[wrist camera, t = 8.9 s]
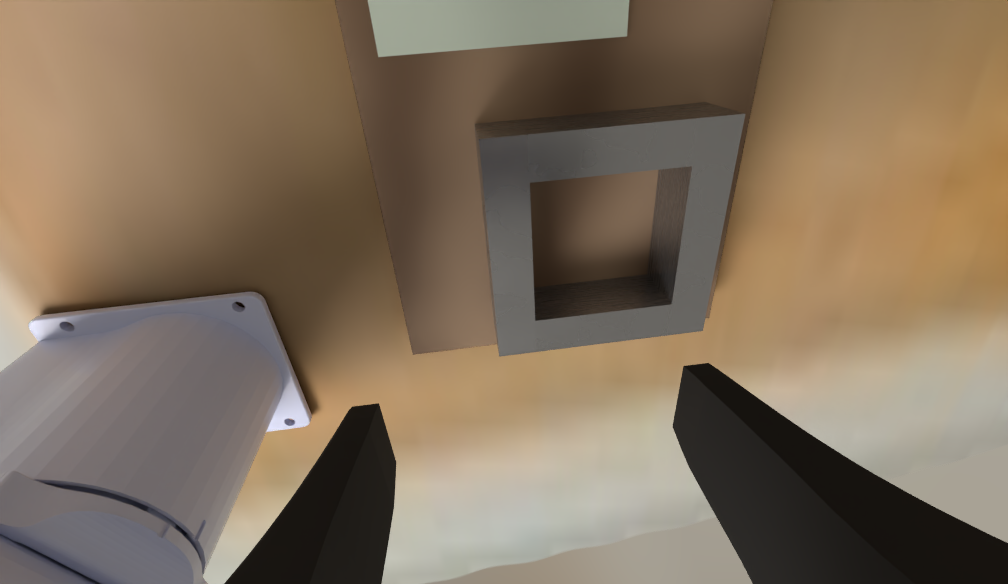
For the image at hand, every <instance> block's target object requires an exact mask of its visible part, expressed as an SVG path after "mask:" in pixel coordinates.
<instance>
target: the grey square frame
mask: <svg viewBox="0 0 1008 584" xmlns="http://www.w3.org/2000/svg"><path fill="white" fill-rule="evenodd" d="M744 119H745V113H741V112H738V111H735V110H731V109H728V108H724V107H721V106H717V105H714V104H710V103H707V102H702V103H692V104H681V105H670V106H659V107H649V108H638V109H627V110H617V111H606V112H595V113H585V114H574V115H563V116H553V117H542V118H531V119H521V120H510V121H499V122H489V123H478V124H474V127H475V137H476V147H477V157H478V167H479V178H480V188H481V198H482V208H483V218H484V229H485V239H486V249H487V259H488V270H489V280H490V290H491V300H492V310H493V321H494V327H495V333H496V339H497V345H498V351H499V356H507V355H514V354H522V353H530V352H538V351H546V350H554V349H562V348H570V347H578V346H586V345H594V344H602V343H610V342H618V341H626V340H634V339H642V338H650V337H658V336H665V335H673V334H681V333H689V332H697V331H703V327H704V322H705V317H706V311H707V306H708V301H709V296H710V291H711V286H712V281H713V276H714V271H715V266H716V261H717V256H718V251H719V246H720V240H721V235H722V230H723V225H724V220H725V215H726V210H727V205H728V200H729V195H730V190H731V185H732V180H733V174H734V169H735V164H736V159H737V154H738V149H739V144H740V139H741V134H742V129H743V124H744ZM650 170H658V180H657V189H656V198H655V207H654V216H653V225H652V234H651V244H650V253H649V262H648V271H647V274H644V275H635V276H627V277H618V278H610V279H601V280H593V281H584V282H576V283H567V284H559V285H550V286H541V287H534V276H533V251H532V226H531V201H530V183H533V182H543V181H553V180H563V179H572V178H582V177H592V176H602V175H611V174H621V173H631V172H641V171H650Z"/></svg>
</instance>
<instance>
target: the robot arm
mask: <svg viewBox="0 0 1008 584" xmlns="http://www.w3.org/2000/svg"><path fill="white" fill-rule="evenodd" d="M236 302H241V303H242V304H244V306H245V307H240V306H238V305H237V304H236ZM68 322H69V323H71V324H72V325H73V326H72V325H70V324H69V323H68ZM28 327H29V329H30V331H31V332H32V334H33V335H34V336H35V338H36V339H37V340H38V343H37V344H36V345H35V346H33V347H32V348H31V349H29V350H28V351H27V352H26V353H24V354H23V355H22V356H20V357H19V358H18V359H17V360H15V361H14V362H13V363H11V364H10V365H9V366H7V367H6V368H5V369H4V370H2V371H1V372H0V584H208V583H207V582H206V581H205V580H204V578H203V574H204V572H205V569H206V567H207V565H208V563H209V560H210V558H211V556H212V554H213V551H214V549H215V547H216V544H217V542H218V540H219V538H220V535H221V533H222V531H223V529H224V526H225V524H226V522H227V520H228V517H229V515H230V513H231V511H232V508H233V506H234V504H235V501H236V499H237V497H238V495H239V492H240V490H241V488H242V486H243V483H244V481H245V479H246V477H247V474H248V472H249V470H250V468H251V465H252V463H253V461H254V458H255V456H256V454H257V452H258V449H259V447H260V445H261V443H262V440H263V438H264V436H265V434H266V432H268V431H276V430H283V429H291V428H299V427H304V426H307V425H308V424H309V423H310V421H311V418H312V414H311V412H310V409H309V407H308V405H307V402H306V400H305V397H304V395H303V392H302V390H301V387H300V385H299V382H298V380H297V377H296V375H295V372H294V370H293V368H292V365H291V363H290V360H289V358H288V355H287V353H286V350H285V348H284V345H283V343H282V340H281V338H280V335H279V333H278V331H277V328H276V326H275V323H274V321H273V318H272V316H271V313H270V311H269V308H268V306H267V303H266V301H265V299H264V298H263V296H261V295H260V294H259V293H256V292H241V293H232V294H224V295H215V296H206V297H197V298H188V299H179V300H171V301H162V302H153V303H144V304H135V305H126V306H118V307H109V308H100V309H91V310H82V311H73V312H64V313H56V314H47V315H40V316H37V317H35V318H34V319H33V320H31V321H30V322H29V325H28ZM288 418H291V419H293V420H290V419H288ZM673 429H674V431H675V434H676V436H677V439H678V441H679V444H680V446H681V449H682V451H683V454H684V456H685V458H686V461H687V463H688V465H689V468H690V469H691V471H692V473H693V475H694V477H695V479H696V481H697V482H698V484H699V486H700V488H701V490H702V491H703V493H704V495H705V497H706V499H707V500H708V502H709V504H710V506H711V508H712V509H713V511H714V513H715V515H716V517H717V518H718V520H719V522H720V524H721V525H722V527H723V529H724V531H725V532H726V534H727V536H728V538H729V540H730V541H731V543H732V545H733V547H734V549H735V550H736V552H737V554H738V556H739V558H740V559H741V561H742V563H743V565H744V567H745V569H746V571H747V573H748V575H749V577H750V579H751V581H752V583H753V584H1008V543H1006V542H1004V541H1002V540H1000V539H998V538H996V537H993V536H991V535H989V534H987V533H985V532H983V531H981V530H979V529H977V528H975V527H973V526H971V525H969V524H967V523H965V522H963V521H961V520H959V519H957V518H955V517H953V516H951V515H949V514H947V513H945V512H943V511H941V510H939V509H937V508H935V507H933V506H931V505H929V504H927V503H926V502H924V501H922V500H920V499H918V498H916V497H914V496H912V495H911V494H909V493H907V492H905V491H903V490H901V489H900V488H898V487H896V486H895V485H893V484H891V483H889V482H887V481H886V480H884V479H882V478H880V477H878V476H877V475H875V474H873V473H871V472H870V471H868V470H866V469H865V468H863V467H861V466H860V465H858V464H856V463H855V462H853V461H851V460H850V459H848V458H847V457H845V456H843V455H842V454H840V453H839V452H837V451H835V450H834V449H832V448H831V447H829V446H827V445H826V444H824V443H823V442H821V441H820V440H818V439H817V438H815V437H813V436H812V435H810V434H809V433H807V432H806V431H804V430H803V429H801V428H800V427H798V426H797V425H796V424H794V423H793V422H791V421H790V420H788V419H787V418H785V417H784V416H782V415H781V414H780V413H778V412H777V411H775V410H774V409H772V408H771V407H770V406H768V405H767V404H765V403H764V402H763V401H761V400H760V399H758V398H757V397H756V396H754V395H753V394H751V393H750V392H749V391H747V390H746V389H744V388H743V387H742V386H740V385H739V384H738V383H736V382H735V381H733V380H732V379H731V378H729V377H728V376H726V375H725V374H724V373H722V372H721V371H719V370H718V369H716V368H715V367H714V366H712V365H711V364H709V363H705V364H697V365H689V366H684V367H683V372H682V378H681V383H680V389H679V394H678V400H677V405H676V411H675V416H674V422H673ZM395 477H396V460H395V457H394V453H393V450H392V447H391V443H390V440H389V436H388V433H387V430H386V426H385V423H384V419H383V416H382V412H381V409H380V406H379V404H371V405H363V406H355V407H352V408H351V409H350V410H349V411H348V413H347V414H346V416H345V417H344V419H343V421H342V422H341V424H340V426H339V427H338V429H337V430H336V432H335V434H334V435H333V437H332V438H331V440H330V442H329V443H328V445H327V446H326V448H325V449H324V451H323V452H322V454H321V456H320V457H319V459H318V460H317V462H316V463H315V465H314V466H313V468H312V469H311V471H310V472H309V474H308V475H307V476H306V478H305V479H304V481H303V482H302V484H301V485H300V487H299V488H298V490H297V491H296V493H295V494H294V495H293V497H292V498H291V500H290V501H289V502H288V504H287V505H286V506H285V508H284V509H283V510H282V512H281V513H280V514H279V516H278V517H277V518H276V520H275V521H274V522H273V524H272V525H271V526H270V528H269V529H268V531H267V532H266V533H265V535H264V536H263V537H262V538H261V540H260V541H259V542H258V543H257V545H256V546H255V547H254V548H253V550H252V551H251V552H250V554H249V555H248V556H247V557H246V558H245V560H244V561H243V562H242V563H241V564H240V566H239V567H238V568H237V569H236V570H235V572H234V573H233V574H232V575H231V576H230V577H229V579H228V580H227V581H226V582H225V583H224V584H381V582H382V576H383V570H384V564H385V558H386V552H387V546H388V540H389V534H390V528H391V522H392V515H393V509H394V496H395Z"/></svg>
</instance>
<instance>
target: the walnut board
mask: <svg viewBox="0 0 1008 584" xmlns="http://www.w3.org/2000/svg"><path fill="white" fill-rule="evenodd" d="M335 3H336V8H337V12H338V17H339V21H340V26H341V30H342V35H343V39H344V44H345V48H346V53H347V58H348V62H349V67H350V71H351V76H352V80H353V85H354V89H355V94H356V98H357V103H358V107H359V112H360V116H361V121H362V125H363V130H364V135H365V139H366V144H367V148H368V153H369V157H370V162H371V166H372V171H373V175H374V180H375V184H376V189H377V193H378V198H379V203H380V207H381V212H382V216H383V221H384V225H385V230H386V234H387V239H388V243H389V248H390V252H391V257H392V261H393V266H394V270H395V275H396V280H397V284H398V289H399V293H400V298H401V302H402V307H403V311H404V316H405V320H406V325H407V329H408V334H409V338H410V343H411V347H412V352H413V355H414V354H422V353H430V352H438V351H446V350H454V349H462V348H470V347H478V346H486V345H494V344H497V339H496V333H495V327H494V321H493V310H492V300H491V290H490V280H489V270H488V259H487V249H486V239H485V229H484V218H483V208H482V198H481V188H480V178H479V167H478V157H477V147H476V137H475V127H474V124H478V123H489V122H499V121H510V120H521V119H531V118H542V117H553V116H563V115H574V114H585V113H595V112H606V111H617V110H627V109H638V108H649V107H659V106H670V105H681V104H692V103H702V102H707V103H710V104H714V105H717V106H721V107H724V108H728V109H731V110H735V111H738V112H741V113H745V119H744V124H743V129H742V134H741V139H740V144H739V149H738V154H737V159H736V164H735V169H734V174H733V180H732V185H731V190H730V195H729V200H728V205H727V210H726V215H725V220H724V225H723V230H722V235H721V240H720V246H719V251H718V256H717V261H716V266H715V271H714V276H713V281H712V286H711V291H710V296H709V301H708V306H707V311H706V317H705V318H709V316H710V311H711V306H712V301H713V296H714V291H715V286H716V281H717V276H718V271H719V266H720V261H721V256H722V251H723V246H724V241H725V237H726V232H727V227H728V222H729V217H730V212H731V207H732V202H733V197H734V192H735V187H736V182H737V177H738V172H739V167H740V162H741V157H742V153H743V148H744V143H745V138H746V133H747V128H748V123H749V118H750V113H751V108H752V103H753V98H754V93H755V88H756V83H757V78H758V73H759V69H760V64H761V59H762V54H763V49H764V44H765V39H766V34H767V29H768V24H769V19H770V14H771V9H772V4H773V0H629V12H628V28H627V36H626V37H614V38H602V39H590V40H578V41H566V42H554V43H542V44H530V45H518V46H506V47H494V48H482V49H470V50H458V51H446V52H434V53H422V54H410V55H398V56H386V57H378V52H377V47H376V42H375V37H374V31H373V26H372V21H371V15H370V10H369V5H368V0H335ZM657 180H658V170H650V171H641V172H631V173H621V174H611V175H602V176H592V177H582V178H572V179H563V180H553V181H543V182H533V183H530V201H531V226H532V251H533V276H534V287H541V286H550V285H559V284H567V283H576V282H584V281H593V280H601V279H610V278H618V277H627V276H635V275H644V274H647V271H648V262H649V253H650V244H651V234H652V225H653V216H654V207H655V198H656V189H657Z"/></svg>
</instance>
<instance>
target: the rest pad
mask: <svg viewBox="0 0 1008 584" xmlns="http://www.w3.org/2000/svg"><path fill="white" fill-rule="evenodd" d="M368 5H369V10H370V15H371V21H372V26H373V31H374V37H375V42H376V47H377V52H378V57H386V56H398V55H410V54H422V53H434V52H446V51H458V50H470V49H482V48H494V47H506V46H518V45H530V44H542V43H554V42H566V41H578V40H590V39H602V38H614V37H626V36H627V28H628V12H629V0H368Z"/></svg>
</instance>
